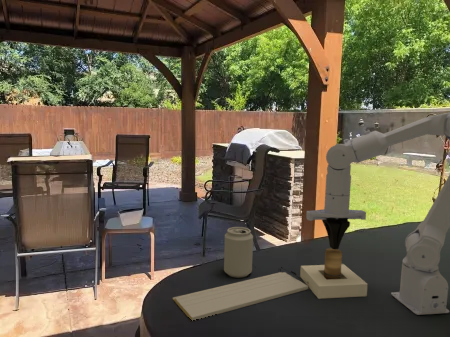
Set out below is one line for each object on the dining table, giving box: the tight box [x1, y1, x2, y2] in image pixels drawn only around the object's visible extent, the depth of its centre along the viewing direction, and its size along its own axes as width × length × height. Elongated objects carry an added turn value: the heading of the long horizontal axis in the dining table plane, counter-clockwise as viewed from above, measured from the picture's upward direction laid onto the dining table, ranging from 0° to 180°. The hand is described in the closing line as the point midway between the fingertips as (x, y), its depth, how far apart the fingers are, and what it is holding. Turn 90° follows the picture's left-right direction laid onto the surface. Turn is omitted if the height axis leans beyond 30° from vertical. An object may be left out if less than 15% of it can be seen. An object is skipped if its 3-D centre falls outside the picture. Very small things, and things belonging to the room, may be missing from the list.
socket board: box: [299, 263, 369, 300], centre depth 91 cm, size 12×12×3 cm
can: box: [223, 226, 254, 279], centre depth 96 cm, size 8×8×12 cm
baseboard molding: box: [172, 266, 309, 322], centre depth 86 cm, size 31×3×12 cm
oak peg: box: [324, 247, 343, 280], centre depth 90 cm, size 4×4×9 cm
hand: (334, 247), depth 89 cm, fingers closed
